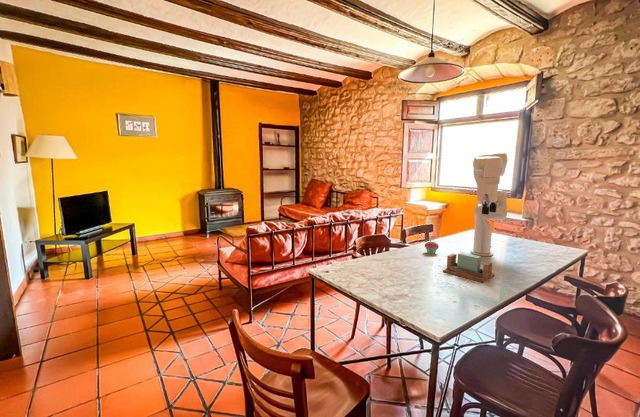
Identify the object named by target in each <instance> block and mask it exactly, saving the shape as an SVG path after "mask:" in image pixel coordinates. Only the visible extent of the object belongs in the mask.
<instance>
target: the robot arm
mask: <svg viewBox="0 0 640 417" xmlns="http://www.w3.org/2000/svg"><path fill="white" fill-rule="evenodd" d="M472 161H473V162H472V167H473V178H474V181H475V183H476V188H477V189H476V192H477V193H476V194H477V195H476V196H477V197H476V198H477V202H478V204H476V205H475V207H474V209H473V211H474V232H473V233H474V236H473V248H472V249H470V254H472V255H477V256H481V257H491V256H493V255H494V252H493V251H491V249H492V245H491V244H492V236H493V234H492V232H493V226H492V224H491V222H489V220H491V221H492V220H493V221H503V220H506V219H507V216H508V204H507V202H508V200H507V198H508V197H507V194H506V191H505V190H502V189H499V185H500V179H501V177H502V176H504V174H505V172H506V169H507V166H508V155H507V153H505V152H504V151H490V152H484V153H482V154H481V155H476V156H474V158H473V160H472Z"/></svg>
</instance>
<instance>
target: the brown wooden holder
mask: <svg viewBox="0 0 640 417" xmlns="http://www.w3.org/2000/svg"><path fill="white" fill-rule="evenodd" d="M446 259H447V261H446V268H444V269H442V272H443V273H446V274H449V275H453V276H456V277H461V278H464V279H466V280H467V279H468V280H471V281H475V282H478V283H481V284H482V283H485V282H487V281H488V280H490V279H492V278H493V277H495V273H493V262H492V261H489V260H488V261H486V262H484V263H482V268H480V273H478V272H474V271H470V270H466V269H463V268H459V267H457V253H451V254H448V255H447V258H446Z"/></svg>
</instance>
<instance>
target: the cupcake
mask: <svg viewBox="0 0 640 417" xmlns="http://www.w3.org/2000/svg"><path fill="white" fill-rule="evenodd" d="M439 247H440V246H439V244H438V243H437V242H434V241H432V236H431V235H429V241H428V242H426V243H424V248H425V249H426V252H427V253H428V254H430V255H434V254H436V253H437V252H436V251H437V250H438V249H439Z"/></svg>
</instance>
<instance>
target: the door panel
mask: <svg viewBox="0 0 640 417" xmlns="http://www.w3.org/2000/svg"><path fill="white" fill-rule="evenodd" d="M456 263H457V267H459V268H463V269H466V270H470V271H474V272H478V273H480V269H482V268H481V266H482V256H479V255H475V254H472V253H467V252H459V253H457V260H456Z"/></svg>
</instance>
